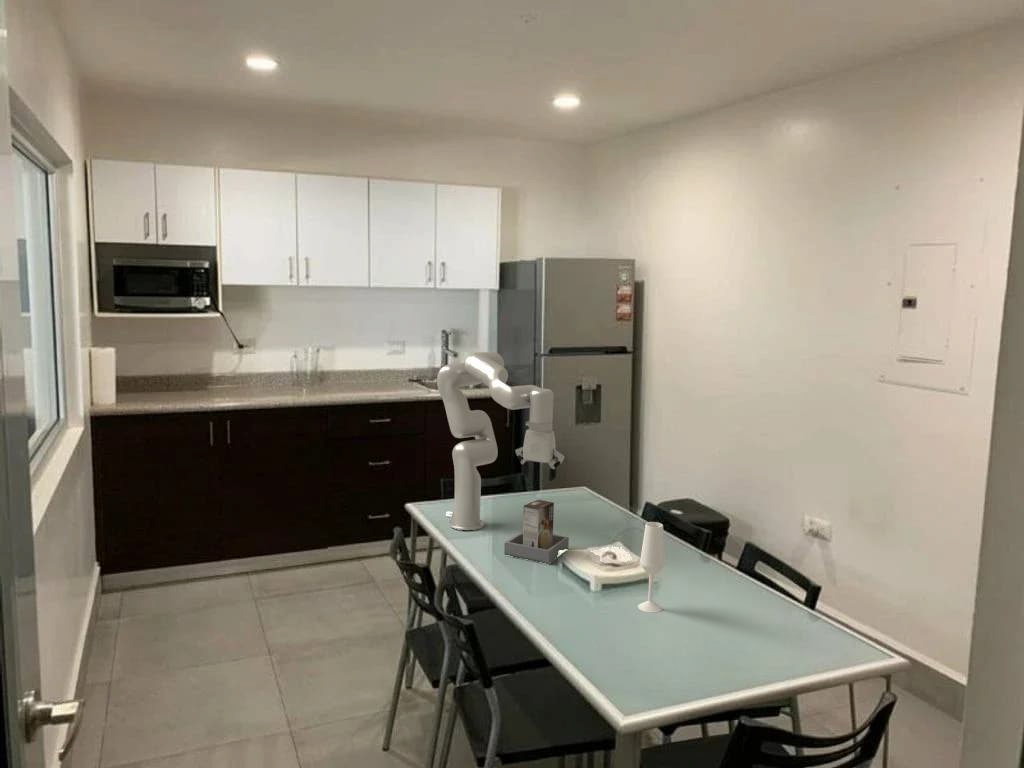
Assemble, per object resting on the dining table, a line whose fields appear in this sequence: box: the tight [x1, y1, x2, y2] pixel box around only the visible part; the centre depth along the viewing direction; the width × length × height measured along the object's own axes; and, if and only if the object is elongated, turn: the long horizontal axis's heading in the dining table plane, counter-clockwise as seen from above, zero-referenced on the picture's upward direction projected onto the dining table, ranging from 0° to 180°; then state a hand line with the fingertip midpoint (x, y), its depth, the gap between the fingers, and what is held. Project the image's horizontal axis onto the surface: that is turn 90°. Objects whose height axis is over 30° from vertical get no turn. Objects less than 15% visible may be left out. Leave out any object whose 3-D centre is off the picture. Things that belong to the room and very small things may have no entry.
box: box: [503, 530, 570, 565], centre depth 257 cm, size 16×16×4 cm
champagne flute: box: [637, 521, 666, 613], centre depth 214 cm, size 7×7×24 cm
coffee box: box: [522, 499, 555, 550], centre depth 256 cm, size 9×6×16 cm
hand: (538, 477), depth 254 cm, fingers open, 9 cm apart
